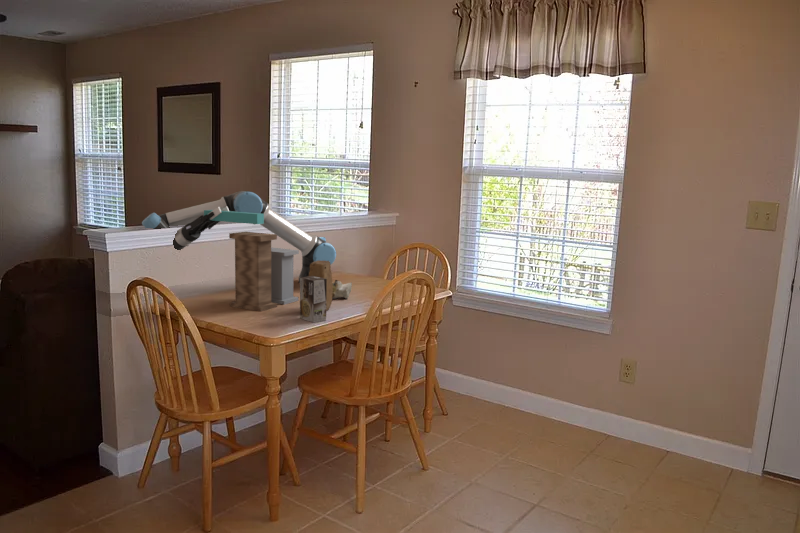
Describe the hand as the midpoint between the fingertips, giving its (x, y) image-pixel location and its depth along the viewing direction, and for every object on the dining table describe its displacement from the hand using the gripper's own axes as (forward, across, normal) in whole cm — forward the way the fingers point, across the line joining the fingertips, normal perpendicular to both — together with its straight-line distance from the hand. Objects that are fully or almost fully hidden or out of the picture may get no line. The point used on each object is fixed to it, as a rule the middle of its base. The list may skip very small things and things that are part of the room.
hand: (224, 209), depth 255 cm
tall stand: (-7, 0, -41) cm, 42 cm away
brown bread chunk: (+15, -12, -54) cm, 57 cm away
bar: (+2, 0, -6) cm, 7 cm away
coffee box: (+21, +4, -58) cm, 62 cm away
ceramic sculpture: (+9, -34, -51) cm, 62 cm away
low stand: (-7, -15, -41) cm, 45 cm away
